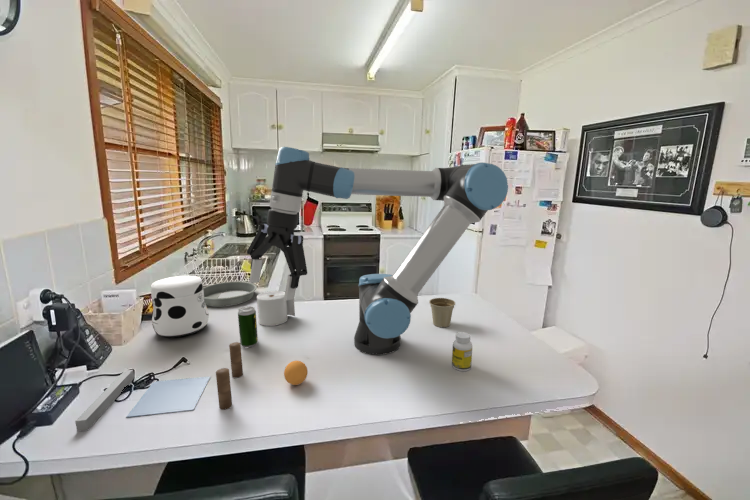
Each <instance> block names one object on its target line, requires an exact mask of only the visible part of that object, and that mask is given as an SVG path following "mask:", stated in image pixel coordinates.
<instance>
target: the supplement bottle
mask: <svg viewBox="0 0 750 500" xmlns="http://www.w3.org/2000/svg"><path fill="white" fill-rule="evenodd" d="M472 360H473V343H472V342H471V334H470V333H468V332H466V331H465V332H464V331H459V332H456V333H455V340H453V342H452V355H451V366H452V367H453V368H454V369H455V370H457V371H459V372H466V371H467V372H468V371H469V370H471V369H472Z"/></svg>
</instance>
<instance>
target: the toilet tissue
mask: <svg viewBox="0 0 750 500" xmlns="http://www.w3.org/2000/svg"><path fill="white" fill-rule="evenodd" d="M285 291H286V290H284V291H283V290H270V291H264V292H261V293H258V294H257V295H256V305H257V320H258V324H260V325H262V326H265V327H273V326H279V325H282V324H284V323H286V322H287V321H288V316H293V317H296V314H295V313H296V311H295V310H296V309H295V298H294V299H292V300H287V301H286V300H284V297H285Z"/></svg>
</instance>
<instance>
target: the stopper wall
mask: <svg viewBox="0 0 750 500" xmlns="http://www.w3.org/2000/svg"><path fill="white" fill-rule="evenodd" d="M134 379H135V373H134V369H125V370H124V371H123V372H121V373H120V375H119V376H117V378H116V379H115V380H114V381H113V382H112V383H111V384H110V385H109V386H108V387H107V388H106V389H105V390H104V391H103V392H102V393H101V394H100V395H99V396H98V397H97V398H96V399H95V400H94V401H93V402H92V403H91V404H90V405H89V406H88V407H87V408H86V410H85V411H84V412H83V413H82V414H81V415H79V417H77V418H76V420H75V421H74V423H75V427H76V432H83V431H84V432H85V431H89V430H90V429H91V428H92V426H93V425H94V424H95V423H96V422H97V421H98V420H99V418H101V417H102V415H103V414H104V413H105V412H106V411H107V410H108V408H109V407H111V405H112V404H113V403H114V401H115V400H116V399H117V398H119V397H120V395H121V394H122V393H123V391H124V390H125V389H124V387H126V386H127V385H128V386H129V385H130V384H131V383H132V382H133V380H134ZM128 386H127V387H128ZM127 387H126V388H127ZM123 389H124V390H123ZM122 390H123V391H122ZM121 392H122V393H121Z"/></svg>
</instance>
